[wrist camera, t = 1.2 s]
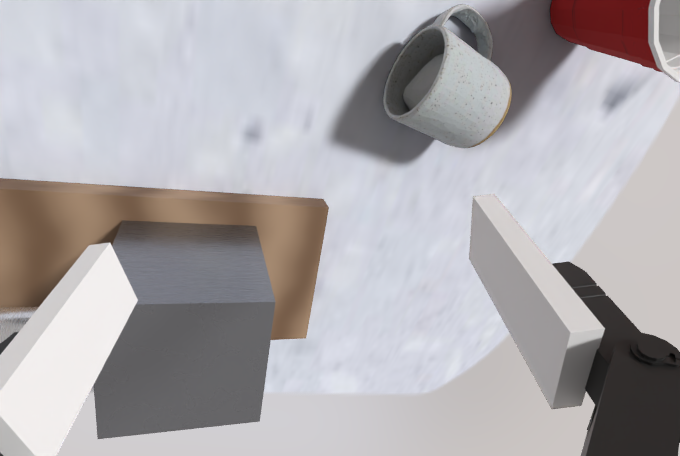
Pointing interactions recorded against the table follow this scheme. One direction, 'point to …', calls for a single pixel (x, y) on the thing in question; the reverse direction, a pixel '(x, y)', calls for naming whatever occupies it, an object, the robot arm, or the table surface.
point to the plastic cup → (624, 29)
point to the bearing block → (188, 330)
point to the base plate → (154, 206)
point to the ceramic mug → (449, 83)
